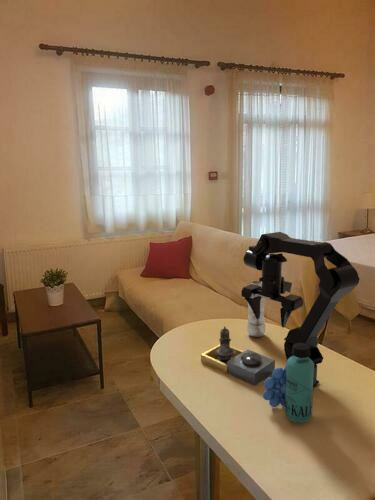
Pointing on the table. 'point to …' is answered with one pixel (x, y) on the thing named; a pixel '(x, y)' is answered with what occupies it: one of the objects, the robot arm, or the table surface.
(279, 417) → the table surface
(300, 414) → the beverage bottle
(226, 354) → the dark grey tall piece
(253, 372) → the two-tone flat frame block
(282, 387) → the grapes
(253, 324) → the plastic bottle
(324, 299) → the robot arm
